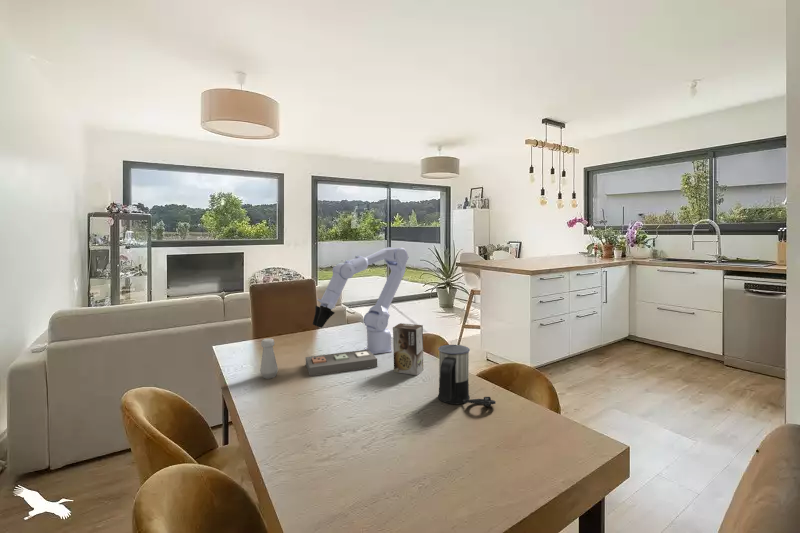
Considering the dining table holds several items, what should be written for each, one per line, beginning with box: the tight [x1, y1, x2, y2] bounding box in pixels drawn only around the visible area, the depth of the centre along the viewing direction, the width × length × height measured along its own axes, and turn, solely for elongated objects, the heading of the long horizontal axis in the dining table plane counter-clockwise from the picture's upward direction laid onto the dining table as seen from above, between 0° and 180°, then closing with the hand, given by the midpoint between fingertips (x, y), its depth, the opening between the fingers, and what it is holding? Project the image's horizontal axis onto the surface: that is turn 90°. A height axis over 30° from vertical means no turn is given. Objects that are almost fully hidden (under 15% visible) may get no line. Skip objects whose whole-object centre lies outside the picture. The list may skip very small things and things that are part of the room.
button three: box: [312, 357, 326, 364], centre depth 139 cm, size 4×4×3 cm
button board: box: [305, 349, 378, 377], centre depth 141 cm, size 24×12×3 cm, turn 110°
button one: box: [355, 351, 370, 358], centre depth 144 cm, size 4×4×3 cm
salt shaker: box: [259, 337, 279, 380], centre depth 131 cm, size 6×6×13 cm
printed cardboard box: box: [392, 322, 424, 376], centre depth 135 cm, size 9×6×16 cm
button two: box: [334, 354, 348, 361], centre depth 141 cm, size 4×4×3 cm
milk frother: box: [437, 344, 497, 407], centre depth 110 cm, size 14×16×15 cm
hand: (316, 326), depth 141 cm, fingers open, 7 cm apart
